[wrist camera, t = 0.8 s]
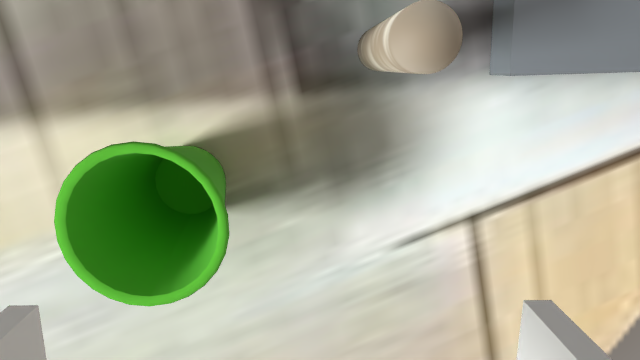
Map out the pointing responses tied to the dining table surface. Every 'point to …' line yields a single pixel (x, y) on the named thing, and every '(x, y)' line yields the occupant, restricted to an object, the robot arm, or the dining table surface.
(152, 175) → the cup
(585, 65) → the grey block with hole
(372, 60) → the long pin
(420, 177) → the dining table surface
